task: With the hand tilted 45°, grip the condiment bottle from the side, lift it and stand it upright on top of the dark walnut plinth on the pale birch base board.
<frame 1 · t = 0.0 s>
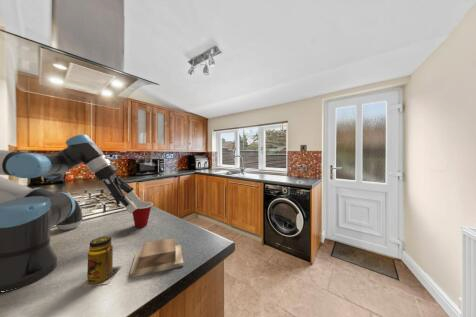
hand: (136, 206, 76), 15 cm above the countertop, tool tilted 35°, fingers open, 13 cm apart
plastic cup: (141, 226, 93), on the countertop
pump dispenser: (68, 228, 88), on the countertop
base board: (158, 260, 62), on the countertop
condiment: (102, 276, 53), on the countertop
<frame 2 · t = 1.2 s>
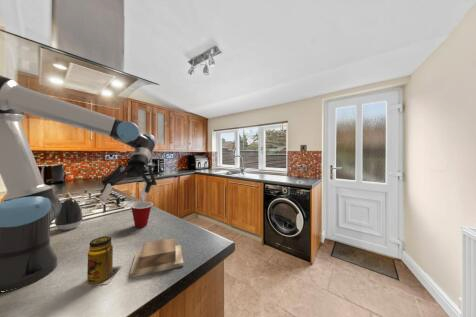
hand: (122, 199, 64), 21 cm above the countertop, tool tilted 45°, fingers open, 13 cm apart
nothing on the countertop moved.
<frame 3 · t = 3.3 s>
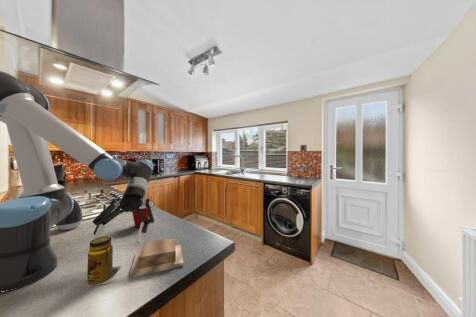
hand: (116, 244, 57), 8 cm above the countertop, tool tilted 45°, fingers open, 13 cm apart
nothing on the countertop moved.
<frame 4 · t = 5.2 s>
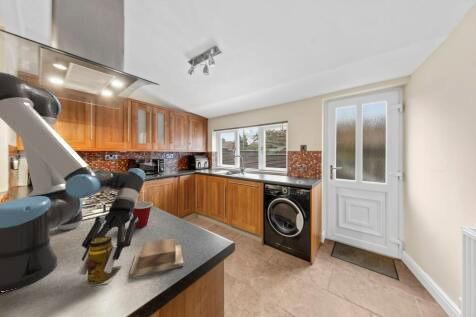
hand: (94, 272, 50), 3 cm above the countertop, tool tilted 45°, fingers closed on condiment, 6 cm apart
condiment: (102, 276, 53), on the countertop, touching gripper
everything else where it was.
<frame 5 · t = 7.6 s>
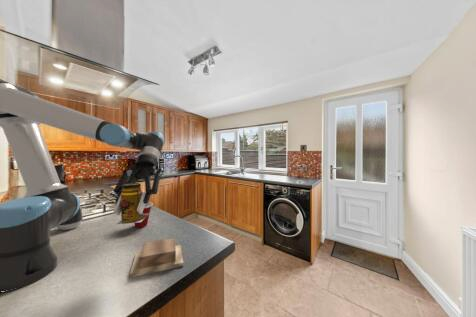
hand: (128, 212, 54), 20 cm above the countertop, tool tilted 45°, fingers closed on condiment, 6 cm apart
condiment: (133, 219, 57), point 16 cm above the countertop, touching gripper
everything else where it was.
when the fingers open (10 cm above the countertop, at t = 10.0 s): condiment drops 1 cm, resting on base board.
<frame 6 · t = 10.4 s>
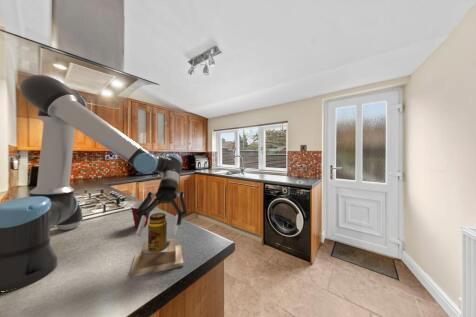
hand: (156, 234, 59), 11 cm above the countertop, tool tilted 45°, fingers open, 11 cm apart
condiment: (158, 247, 62), point 5 cm above the countertop, touching base board
everything else where it was.
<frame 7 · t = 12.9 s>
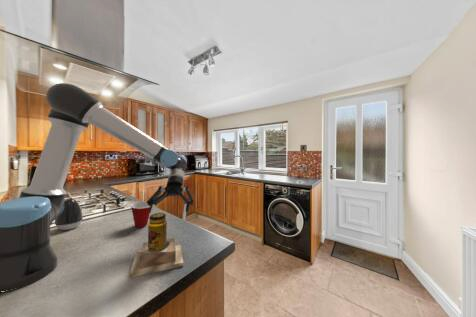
hand: (167, 219, 72), 11 cm above the countertop, tool tilted 45°, fingers open, 13 cm apart
nothing on the countertop moved.
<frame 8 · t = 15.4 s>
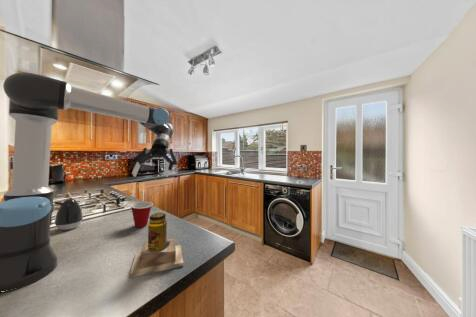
hand: (150, 175, 75), 30 cm above the countertop, tool tilted 45°, fingers open, 13 cm apart
nothing on the countertop moved.
at the end: condiment inside the target area on the base board (0.2 cm from its centre), point 4.8 cm above the base board's base; condiment tilted 0°; the gripper is holding nothing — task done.
